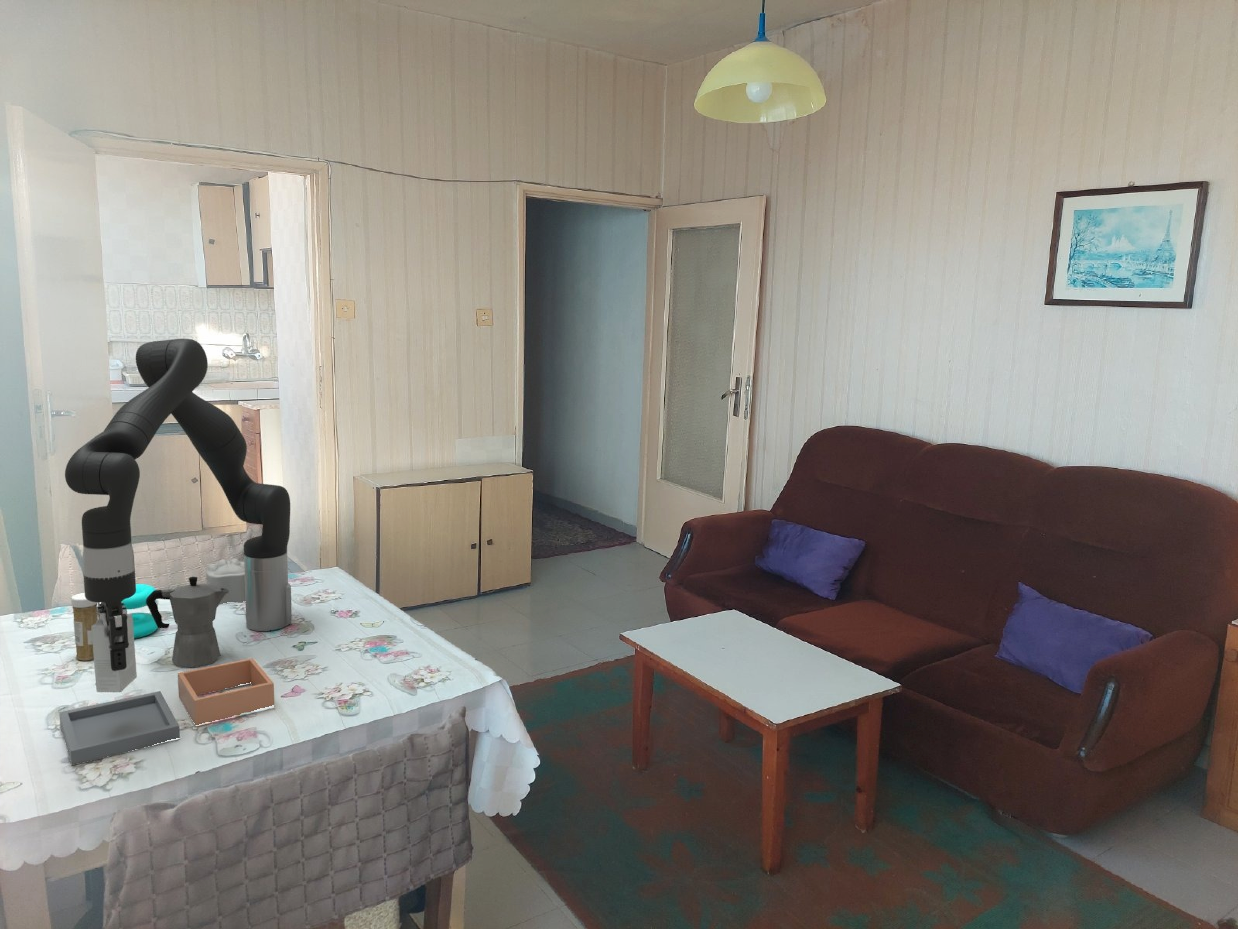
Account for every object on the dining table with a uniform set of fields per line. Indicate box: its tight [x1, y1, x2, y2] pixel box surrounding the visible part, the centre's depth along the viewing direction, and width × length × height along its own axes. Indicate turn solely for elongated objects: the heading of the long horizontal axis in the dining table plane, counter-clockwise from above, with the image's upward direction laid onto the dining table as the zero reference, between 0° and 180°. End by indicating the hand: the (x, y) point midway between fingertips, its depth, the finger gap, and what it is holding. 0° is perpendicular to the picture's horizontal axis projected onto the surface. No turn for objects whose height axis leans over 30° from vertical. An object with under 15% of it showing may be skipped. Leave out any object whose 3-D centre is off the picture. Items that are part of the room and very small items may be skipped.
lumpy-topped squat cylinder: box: [205, 557, 245, 605], centre depth 222 cm, size 10×13×9 cm
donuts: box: [121, 583, 159, 639], centre depth 196 cm, size 10×10×10 cm
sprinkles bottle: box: [71, 592, 98, 662], centre depth 181 cm, size 5×5×14 cm
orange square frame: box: [177, 657, 275, 726], centre depth 165 cm, size 14×14×5 cm
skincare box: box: [91, 613, 138, 693], centre depth 151 cm, size 6×4×12 cm
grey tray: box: [58, 690, 181, 766], centre depth 153 cm, size 16×16×2 cm
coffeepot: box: [146, 576, 229, 669], centre depth 182 cm, size 15×9×18 cm, turn 110°
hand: (115, 661), depth 151 cm, fingers closed on skincare box, 7 cm apart
